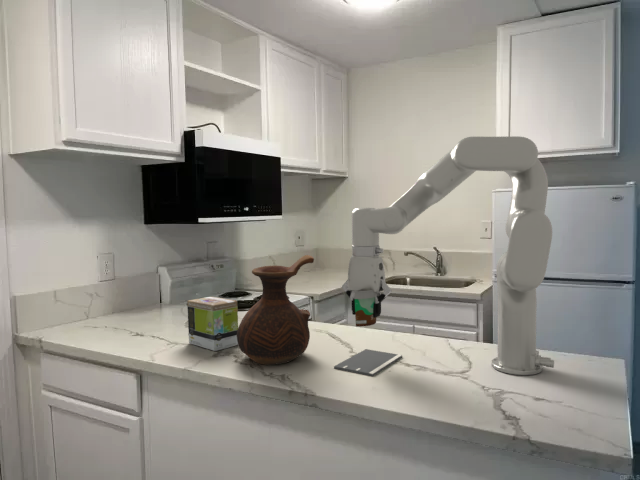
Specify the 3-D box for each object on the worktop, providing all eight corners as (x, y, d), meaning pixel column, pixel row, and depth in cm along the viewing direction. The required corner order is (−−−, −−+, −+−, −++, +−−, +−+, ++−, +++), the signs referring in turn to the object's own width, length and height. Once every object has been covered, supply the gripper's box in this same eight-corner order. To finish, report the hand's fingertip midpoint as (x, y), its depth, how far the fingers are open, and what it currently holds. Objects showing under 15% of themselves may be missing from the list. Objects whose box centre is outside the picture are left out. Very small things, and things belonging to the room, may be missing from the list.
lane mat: (402, 357, 141) (402, 354, 141) (372, 376, 126) (372, 373, 126) (365, 350, 147) (365, 348, 147) (334, 368, 133) (334, 366, 133)
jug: (285, 375, 128) (282, 263, 126) (222, 364, 139) (218, 260, 137) (324, 352, 147) (322, 254, 145) (266, 343, 158) (263, 252, 156)
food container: (377, 328, 130) (376, 291, 129) (354, 327, 132) (354, 291, 131) (382, 317, 142) (382, 284, 141) (361, 317, 144) (361, 283, 143)
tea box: (240, 344, 158) (238, 300, 157) (214, 352, 150) (212, 305, 149) (213, 337, 168) (211, 295, 167) (187, 343, 161) (185, 299, 159)
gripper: (399, 251, 134) (399, 316, 135) (346, 249, 144) (346, 309, 145) (387, 254, 128) (387, 321, 129) (332, 251, 137) (333, 314, 139)
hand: (366, 314), depth 137 cm, fingers closed on food container, 5 cm apart
